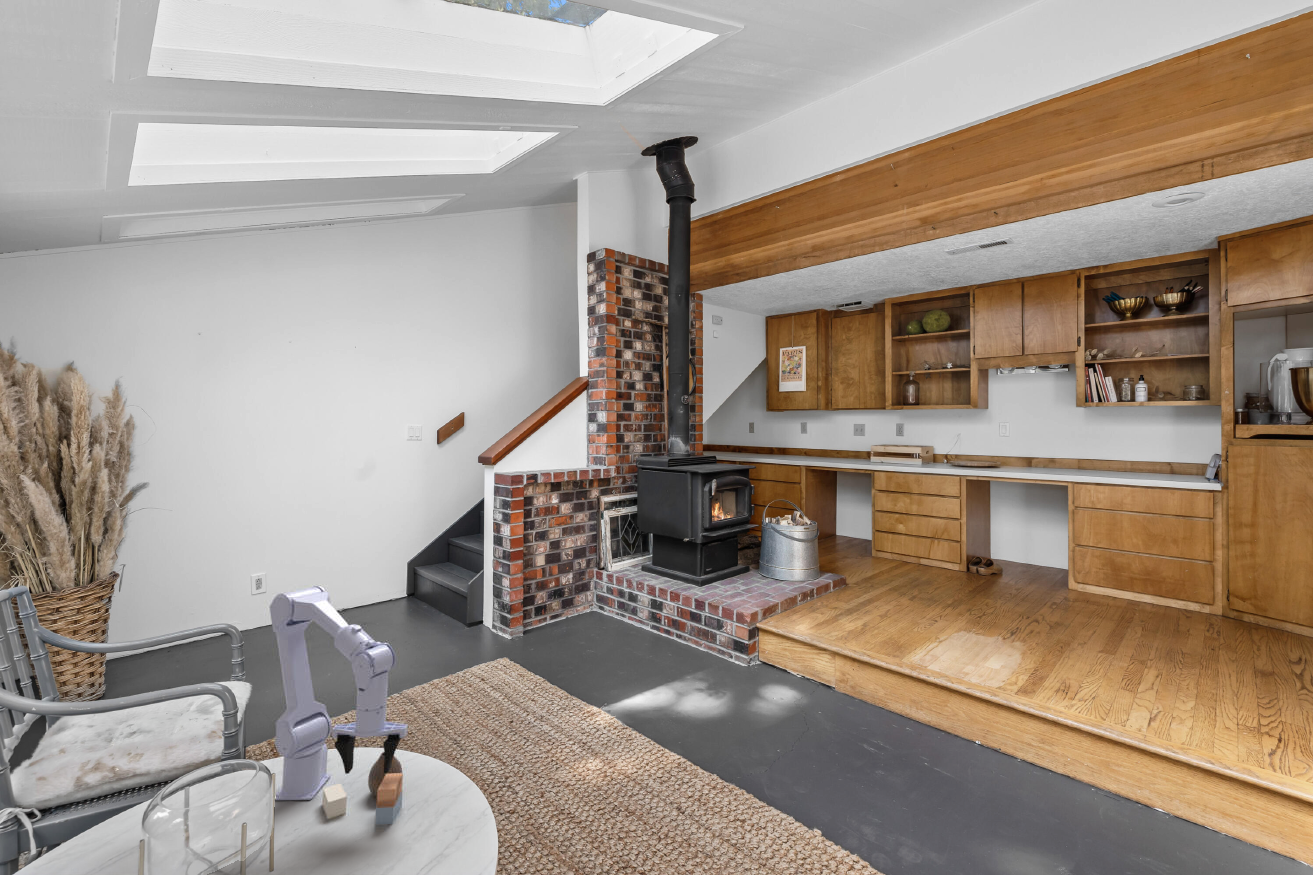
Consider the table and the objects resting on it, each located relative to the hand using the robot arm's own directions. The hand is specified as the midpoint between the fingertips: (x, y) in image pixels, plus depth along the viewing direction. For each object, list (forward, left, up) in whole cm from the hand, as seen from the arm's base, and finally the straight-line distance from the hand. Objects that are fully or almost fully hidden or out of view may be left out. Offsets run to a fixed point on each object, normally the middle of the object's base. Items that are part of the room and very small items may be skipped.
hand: (368, 770), depth 122 cm
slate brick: (0, +5, -9) cm, 10 cm away
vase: (-8, +1, -10) cm, 12 cm away
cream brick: (-3, -7, -10) cm, 12 cm away
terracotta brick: (0, +5, -6) cm, 7 cm away
